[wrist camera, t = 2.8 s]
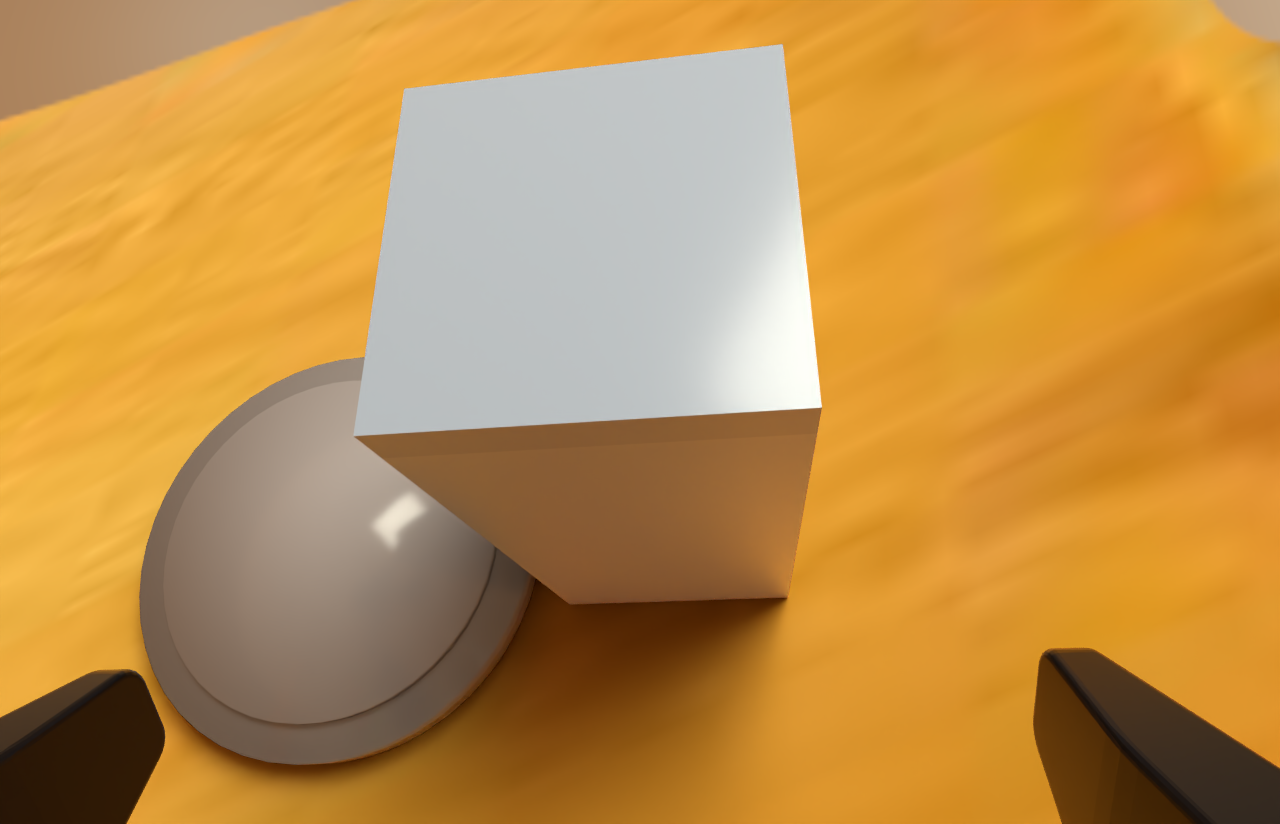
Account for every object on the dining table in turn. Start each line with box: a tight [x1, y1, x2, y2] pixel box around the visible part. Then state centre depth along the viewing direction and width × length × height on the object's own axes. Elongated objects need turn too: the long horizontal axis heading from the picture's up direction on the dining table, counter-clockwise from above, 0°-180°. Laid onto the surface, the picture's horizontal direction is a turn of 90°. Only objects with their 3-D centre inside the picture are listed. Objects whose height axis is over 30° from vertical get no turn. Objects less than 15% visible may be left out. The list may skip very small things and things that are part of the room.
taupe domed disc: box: [139, 357, 536, 765], centre depth 21 cm, size 11×11×1 cm
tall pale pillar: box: [353, 44, 822, 604], centre depth 16 cm, size 6×6×12 cm
